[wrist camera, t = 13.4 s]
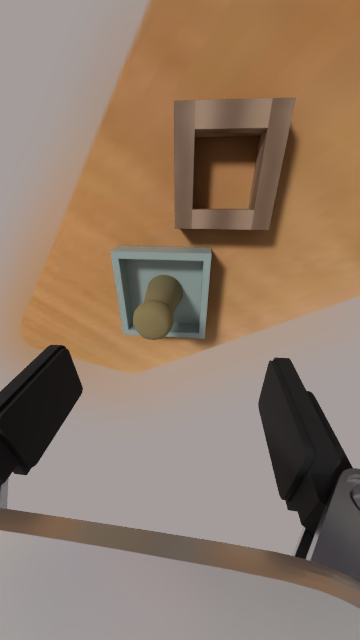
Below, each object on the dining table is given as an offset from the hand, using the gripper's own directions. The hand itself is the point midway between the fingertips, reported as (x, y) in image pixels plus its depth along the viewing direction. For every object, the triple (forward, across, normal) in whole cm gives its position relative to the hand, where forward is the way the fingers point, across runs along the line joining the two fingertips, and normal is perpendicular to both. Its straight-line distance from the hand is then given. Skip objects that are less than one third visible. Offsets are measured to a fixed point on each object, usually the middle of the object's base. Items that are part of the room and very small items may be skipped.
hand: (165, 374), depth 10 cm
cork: (+25, +5, +6) cm, 26 cm away
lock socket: (+26, -4, -9) cm, 28 cm away
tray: (+26, +5, +6) cm, 27 cm away
